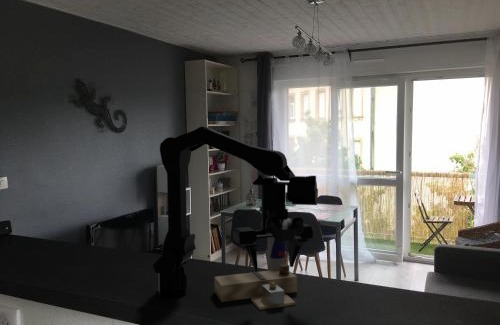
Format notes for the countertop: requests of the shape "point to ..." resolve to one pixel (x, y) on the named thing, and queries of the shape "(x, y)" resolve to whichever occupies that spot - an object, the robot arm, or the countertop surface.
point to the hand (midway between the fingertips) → (273, 268)
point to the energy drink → (276, 253)
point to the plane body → (253, 283)
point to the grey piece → (273, 293)
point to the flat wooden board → (265, 305)
